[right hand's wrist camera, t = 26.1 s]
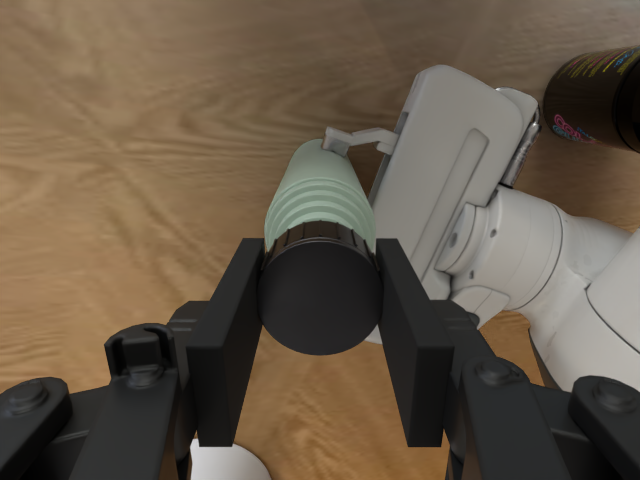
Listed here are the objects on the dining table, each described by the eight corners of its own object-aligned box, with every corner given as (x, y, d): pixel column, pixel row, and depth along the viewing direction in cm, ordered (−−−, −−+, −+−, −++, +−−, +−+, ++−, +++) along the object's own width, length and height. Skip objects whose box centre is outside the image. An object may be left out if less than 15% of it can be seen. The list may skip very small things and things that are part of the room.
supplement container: (520, 107, 33) (606, 113, 23) (584, 33, 31) (707, 4, 21) (576, 156, 34) (680, 181, 24) (640, 88, 32) (781, 85, 22)
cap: (265, 323, 15) (257, 356, 13) (260, 217, 14) (250, 238, 12) (374, 323, 15) (382, 357, 13) (380, 218, 14) (390, 239, 12)
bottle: (277, 161, 34) (208, 267, 13) (329, 126, 33) (345, 180, 12) (311, 210, 36) (298, 378, 15) (362, 178, 35) (426, 309, 14)
